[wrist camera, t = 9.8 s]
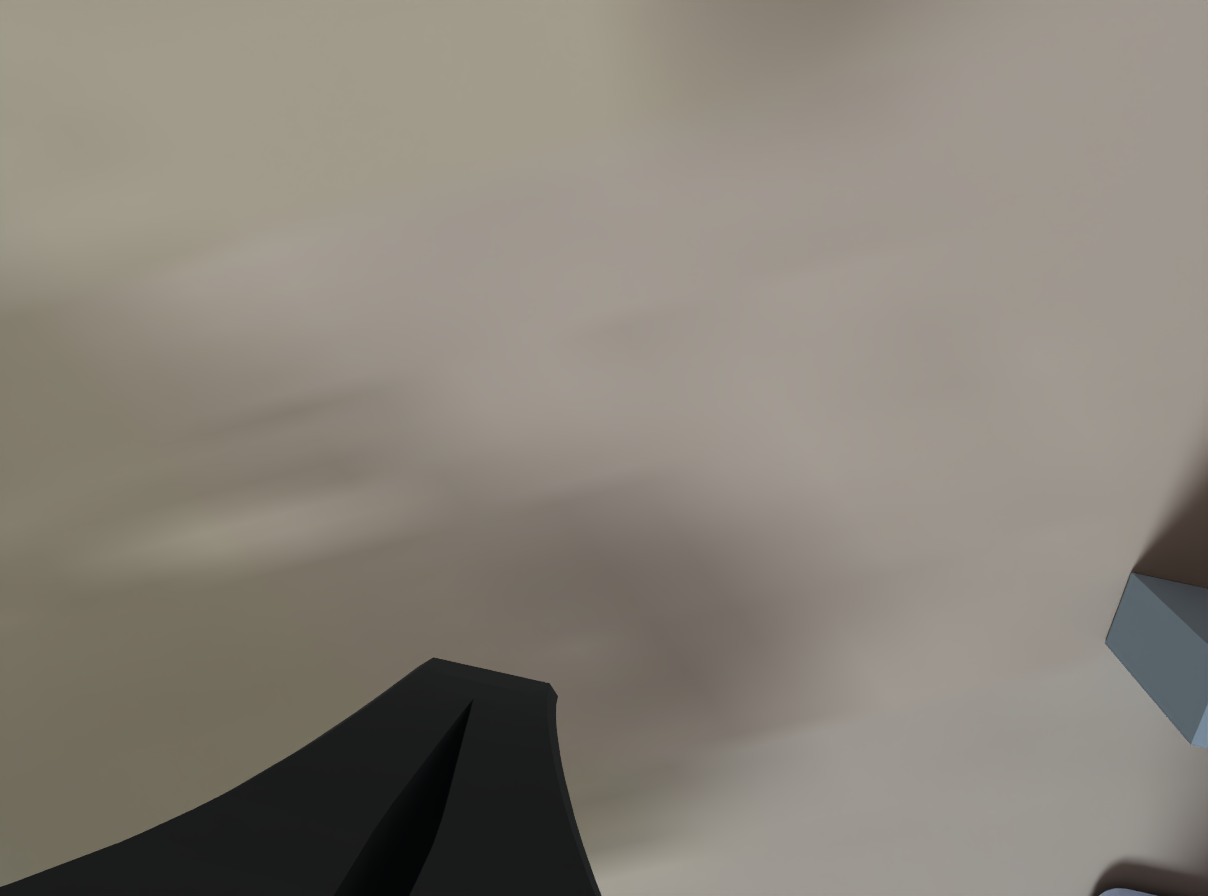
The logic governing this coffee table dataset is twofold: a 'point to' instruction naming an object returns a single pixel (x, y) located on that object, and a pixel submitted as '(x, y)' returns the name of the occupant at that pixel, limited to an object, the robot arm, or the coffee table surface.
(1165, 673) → the grey rectangular tray
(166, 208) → the coffee table surface
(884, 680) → the coffee table surface
